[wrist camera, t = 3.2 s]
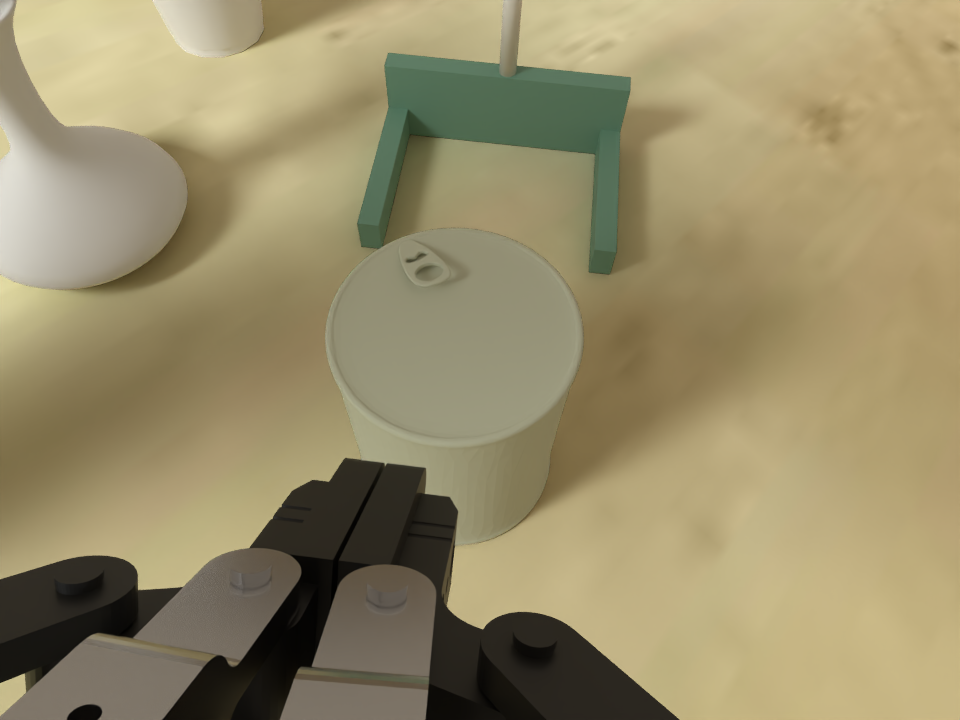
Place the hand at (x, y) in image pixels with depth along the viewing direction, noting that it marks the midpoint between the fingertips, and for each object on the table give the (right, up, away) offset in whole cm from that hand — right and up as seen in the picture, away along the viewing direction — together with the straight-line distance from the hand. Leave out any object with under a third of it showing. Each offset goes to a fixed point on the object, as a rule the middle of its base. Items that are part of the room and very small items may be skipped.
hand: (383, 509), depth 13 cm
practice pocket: (+3, +13, +30) cm, 33 cm away
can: (+1, -2, +22) cm, 22 cm away
